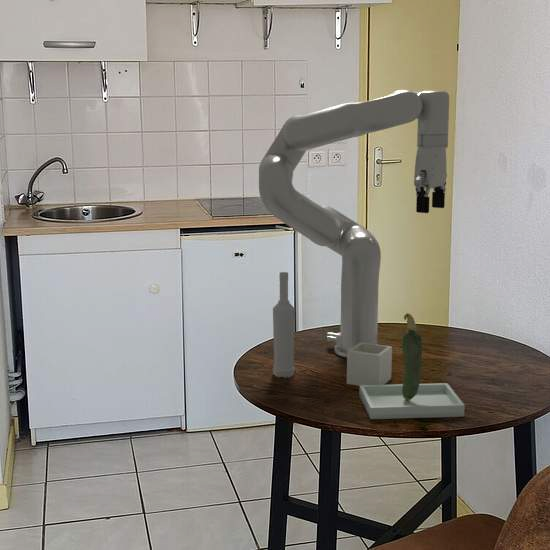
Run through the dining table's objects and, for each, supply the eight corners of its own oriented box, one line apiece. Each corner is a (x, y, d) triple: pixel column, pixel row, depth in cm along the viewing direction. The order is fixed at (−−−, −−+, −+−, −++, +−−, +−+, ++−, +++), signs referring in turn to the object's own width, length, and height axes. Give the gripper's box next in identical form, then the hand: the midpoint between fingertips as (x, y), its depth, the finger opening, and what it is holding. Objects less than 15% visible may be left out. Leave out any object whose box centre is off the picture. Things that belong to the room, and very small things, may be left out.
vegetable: (421, 399, 200) (425, 311, 195) (418, 406, 196) (421, 316, 191) (401, 397, 201) (404, 309, 197) (397, 404, 197) (400, 314, 193)
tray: (370, 419, 191) (370, 407, 190) (359, 396, 204) (359, 385, 204) (464, 416, 192) (464, 405, 192) (446, 393, 206) (447, 383, 205)
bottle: (268, 374, 219) (268, 273, 213) (283, 369, 222) (283, 269, 217) (284, 379, 215) (284, 276, 210) (298, 374, 219) (299, 272, 214)
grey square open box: (346, 383, 212) (347, 350, 211) (359, 373, 219) (360, 341, 218) (378, 389, 209) (379, 355, 207) (391, 378, 216) (392, 346, 214)
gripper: (432, 138, 234) (430, 204, 238) (403, 143, 220) (402, 213, 224) (459, 139, 230) (457, 206, 234) (432, 144, 216) (430, 215, 220)
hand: (430, 210), depth 229 cm, fingers open, 9 cm apart
